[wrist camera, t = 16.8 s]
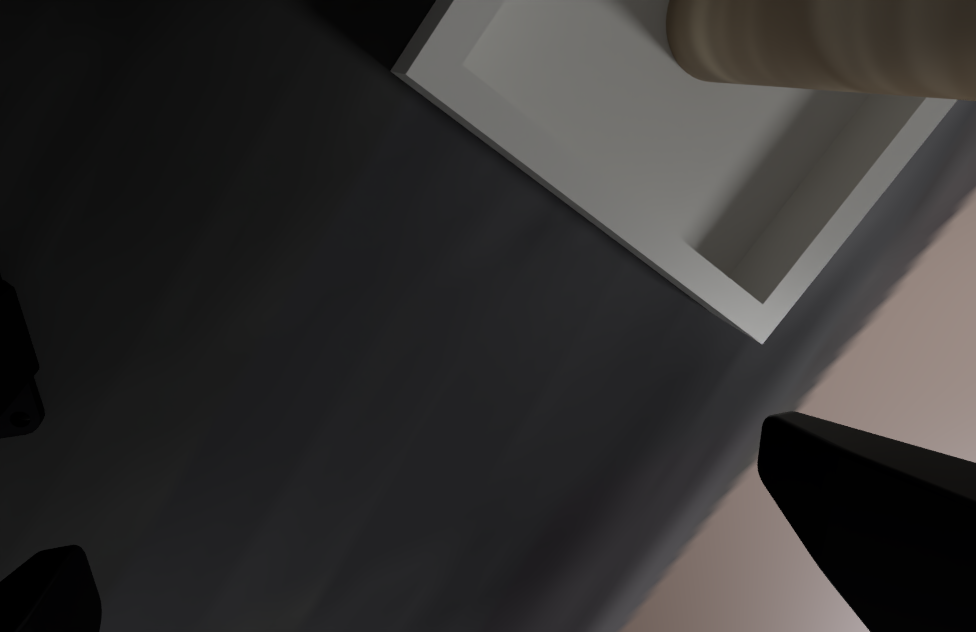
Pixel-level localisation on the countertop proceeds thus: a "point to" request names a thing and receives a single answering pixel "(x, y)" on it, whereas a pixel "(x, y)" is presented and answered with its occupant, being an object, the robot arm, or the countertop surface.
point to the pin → (830, 44)
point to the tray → (669, 143)
